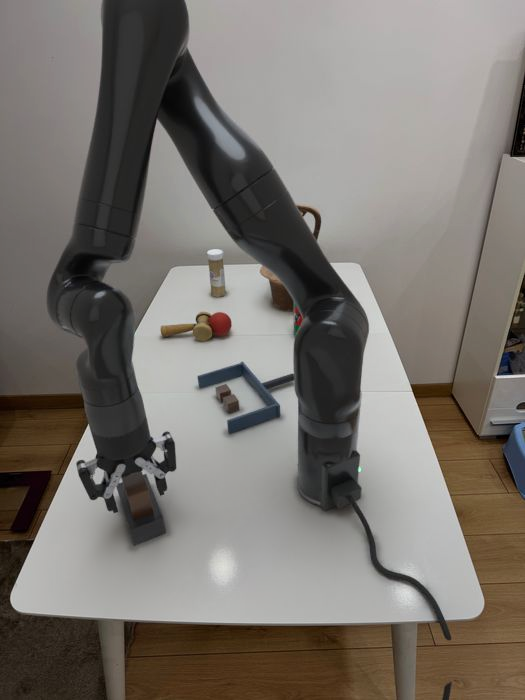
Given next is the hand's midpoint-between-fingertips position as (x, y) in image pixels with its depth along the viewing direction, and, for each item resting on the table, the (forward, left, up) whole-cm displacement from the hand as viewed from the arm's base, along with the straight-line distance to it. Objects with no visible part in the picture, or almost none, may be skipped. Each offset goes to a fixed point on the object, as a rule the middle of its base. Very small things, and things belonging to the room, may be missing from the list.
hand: (138, 499), depth 75 cm
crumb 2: (+18, -23, -4) cm, 30 cm away
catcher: (+20, -29, -4) cm, 36 cm away
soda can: (+37, -51, -4) cm, 63 cm away
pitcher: (+54, -57, -4) cm, 79 cm away
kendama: (+50, -27, -4) cm, 57 cm away
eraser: (0, 0, -4) cm, 4 cm away
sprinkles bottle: (+70, -41, -4) cm, 81 cm away
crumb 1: (+22, -23, -4) cm, 32 cm away
